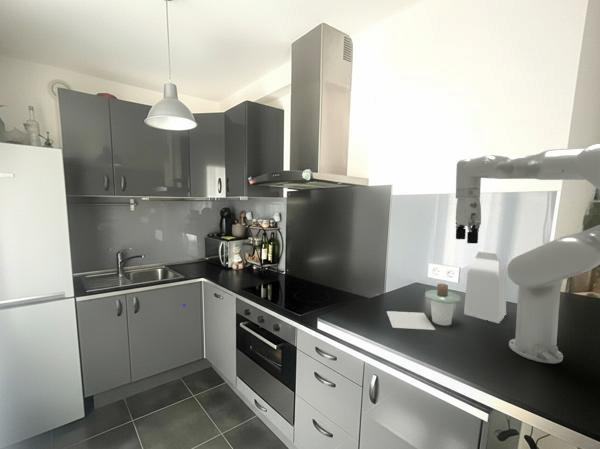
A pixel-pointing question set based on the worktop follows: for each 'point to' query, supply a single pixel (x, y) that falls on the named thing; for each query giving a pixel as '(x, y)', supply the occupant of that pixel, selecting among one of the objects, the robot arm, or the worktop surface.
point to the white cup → (441, 313)
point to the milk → (486, 288)
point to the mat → (409, 320)
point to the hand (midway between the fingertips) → (466, 241)
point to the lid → (442, 295)
